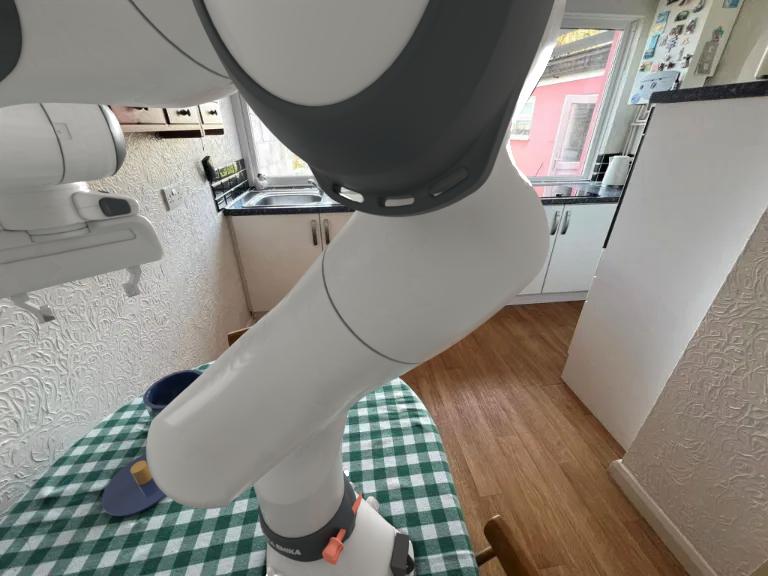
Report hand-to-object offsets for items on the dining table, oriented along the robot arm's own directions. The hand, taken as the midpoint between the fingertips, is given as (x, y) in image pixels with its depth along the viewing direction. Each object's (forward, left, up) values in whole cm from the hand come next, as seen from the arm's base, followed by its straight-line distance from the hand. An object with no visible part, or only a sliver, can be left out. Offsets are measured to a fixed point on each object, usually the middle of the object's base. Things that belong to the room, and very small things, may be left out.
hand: (93, 306), depth 44 cm
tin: (+10, -10, -37) cm, 39 cm away
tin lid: (+3, +3, -36) cm, 36 cm away
